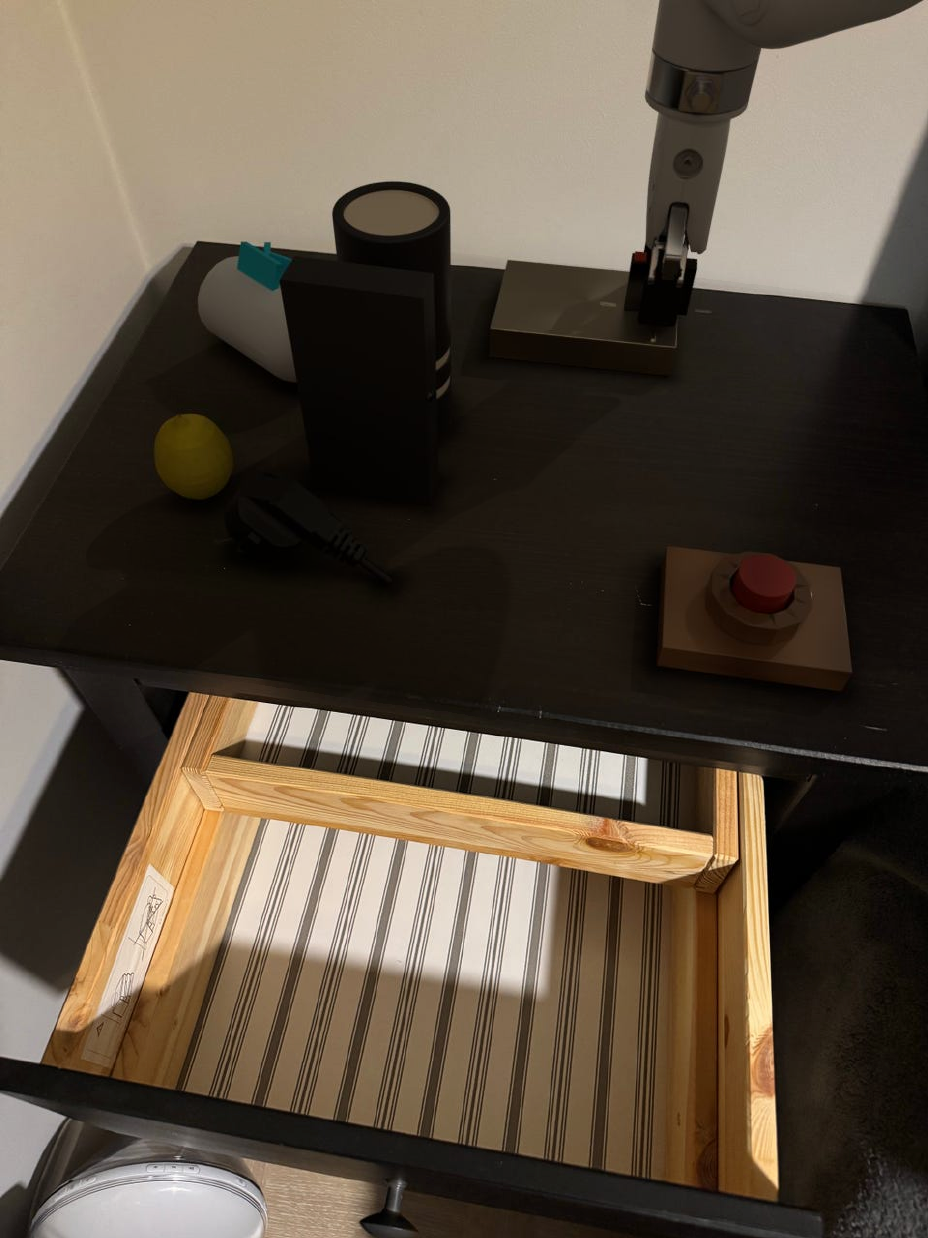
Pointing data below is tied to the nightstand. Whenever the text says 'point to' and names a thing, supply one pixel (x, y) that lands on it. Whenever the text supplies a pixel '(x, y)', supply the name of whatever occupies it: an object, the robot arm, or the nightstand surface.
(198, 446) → the fruit
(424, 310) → the light fixture
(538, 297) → the panel
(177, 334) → the nightstand surface
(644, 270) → the black boxy piece
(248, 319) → the mug
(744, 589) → the button
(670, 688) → the nightstand surface
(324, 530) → the power plug
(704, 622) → the red push button box
